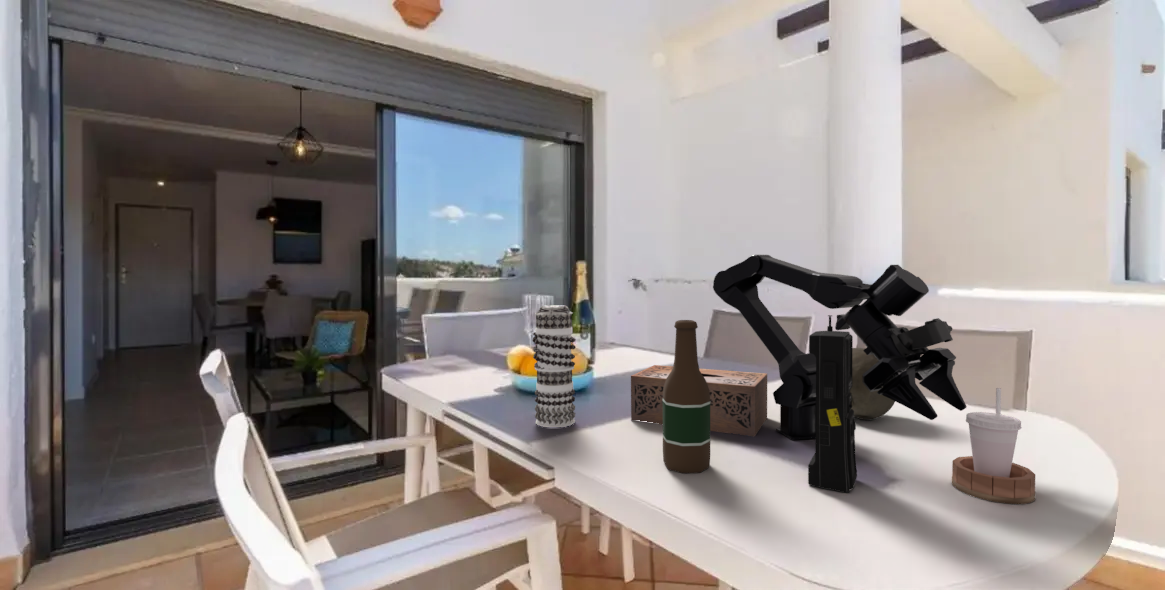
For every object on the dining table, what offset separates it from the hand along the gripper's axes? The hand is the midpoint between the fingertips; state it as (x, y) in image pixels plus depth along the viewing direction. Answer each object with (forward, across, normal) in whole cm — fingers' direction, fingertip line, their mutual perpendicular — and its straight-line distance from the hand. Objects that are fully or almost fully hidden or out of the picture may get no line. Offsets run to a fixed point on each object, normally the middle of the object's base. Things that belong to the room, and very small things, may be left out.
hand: (949, 413), depth 82 cm
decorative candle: (-35, -35, +50) cm, 71 cm away
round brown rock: (-11, +22, +26) cm, 36 cm away
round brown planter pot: (+11, 0, +3) cm, 11 cm away
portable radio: (+1, -17, +13) cm, 21 cm away
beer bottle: (-11, -30, +26) cm, 41 cm away
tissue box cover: (-24, -8, +40) cm, 47 cm away
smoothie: (+10, 0, +3) cm, 11 cm away
